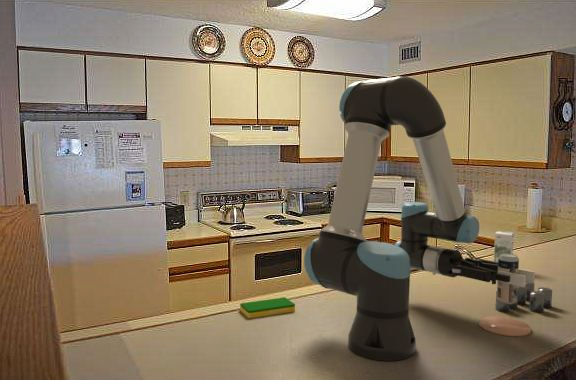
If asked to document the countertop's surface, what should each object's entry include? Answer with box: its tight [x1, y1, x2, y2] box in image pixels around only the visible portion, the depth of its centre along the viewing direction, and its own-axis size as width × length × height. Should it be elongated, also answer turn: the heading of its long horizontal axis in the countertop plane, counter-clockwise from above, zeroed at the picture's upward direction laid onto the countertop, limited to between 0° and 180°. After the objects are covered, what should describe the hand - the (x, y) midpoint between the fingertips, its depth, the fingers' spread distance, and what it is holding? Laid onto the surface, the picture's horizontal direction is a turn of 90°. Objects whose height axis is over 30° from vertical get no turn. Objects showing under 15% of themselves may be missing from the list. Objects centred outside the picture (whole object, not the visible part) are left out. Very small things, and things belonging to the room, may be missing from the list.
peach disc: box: [479, 316, 532, 337], centre depth 124 cm, size 12×12×1 cm
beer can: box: [496, 253, 520, 304], centre depth 123 cm, size 5×5×12 cm
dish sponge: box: [239, 297, 296, 319], centre depth 135 cm, size 7×14×2 cm, turn 115°
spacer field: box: [495, 281, 553, 314], centre depth 143 cm, size 15×26×5 cm, turn 131°
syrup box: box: [493, 230, 515, 262], centre depth 179 cm, size 6×6×14 cm
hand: (529, 279), depth 119 cm, fingers closed on beer can, 5 cm apart
